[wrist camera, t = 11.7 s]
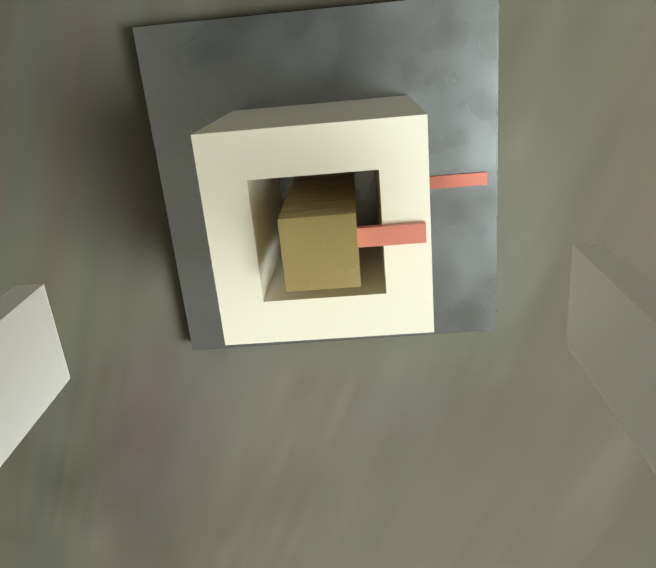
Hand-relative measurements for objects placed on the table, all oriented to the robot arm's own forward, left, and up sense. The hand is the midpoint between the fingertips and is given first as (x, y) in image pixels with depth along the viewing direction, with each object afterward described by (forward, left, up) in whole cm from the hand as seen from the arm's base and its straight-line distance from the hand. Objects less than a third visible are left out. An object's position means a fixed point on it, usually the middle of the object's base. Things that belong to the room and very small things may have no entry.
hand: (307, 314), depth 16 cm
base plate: (0, 0, -16) cm, 16 cm away
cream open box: (0, 0, -15) cm, 15 cm away
